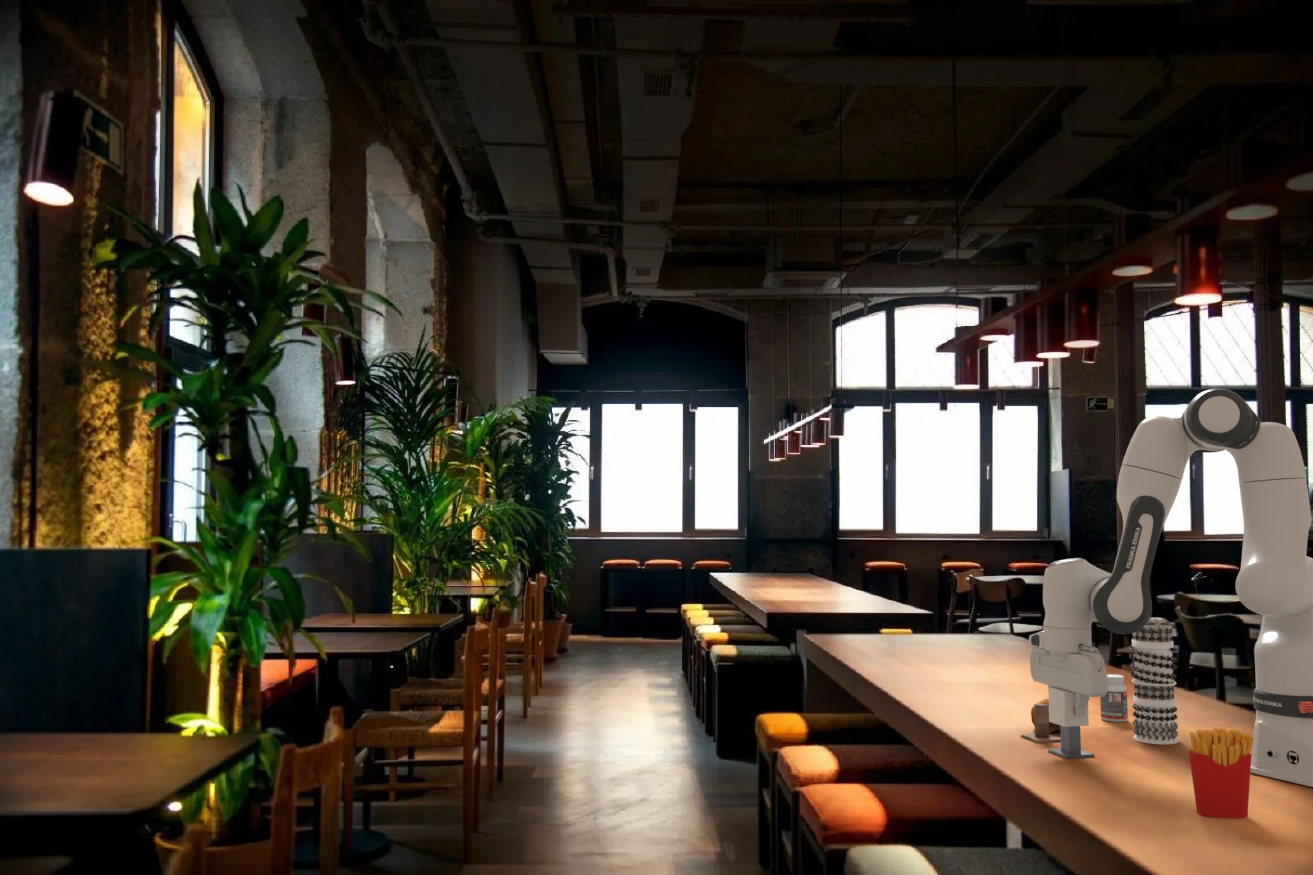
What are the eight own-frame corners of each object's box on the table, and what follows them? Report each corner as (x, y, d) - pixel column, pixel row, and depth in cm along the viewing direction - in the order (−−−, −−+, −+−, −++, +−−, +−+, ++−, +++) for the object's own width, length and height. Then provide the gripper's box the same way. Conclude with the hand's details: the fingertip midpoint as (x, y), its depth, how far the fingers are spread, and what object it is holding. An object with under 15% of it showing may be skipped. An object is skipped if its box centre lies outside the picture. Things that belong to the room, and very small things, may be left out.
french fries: (1198, 817, 170) (1195, 732, 171) (1187, 810, 174) (1185, 727, 175) (1260, 819, 169) (1257, 733, 170) (1248, 811, 173) (1244, 727, 174)
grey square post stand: (1094, 756, 212) (1093, 720, 212) (1066, 758, 210) (1065, 721, 211) (1074, 750, 218) (1073, 714, 218) (1048, 752, 216) (1047, 715, 217)
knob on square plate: (1063, 741, 226) (1062, 706, 227) (1037, 742, 225) (1037, 708, 225) (1046, 735, 232) (1045, 701, 232) (1021, 737, 230) (1020, 703, 231)
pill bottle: (1130, 723, 245) (1129, 678, 246) (1103, 722, 247) (1102, 677, 247) (1124, 718, 251) (1123, 674, 252) (1098, 717, 252) (1097, 673, 253)
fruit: (1051, 730, 230) (1039, 694, 235) (1033, 743, 236) (1020, 708, 241) (1084, 728, 232) (1071, 692, 237) (1065, 741, 238) (1052, 706, 243)
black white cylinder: (1155, 734, 233) (1151, 615, 235) (1190, 742, 224) (1186, 619, 226) (1121, 737, 230) (1117, 617, 231) (1156, 746, 221) (1152, 621, 223)
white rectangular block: (1088, 725, 213) (1087, 691, 213) (1065, 726, 211) (1064, 692, 212) (1072, 720, 218) (1071, 686, 218) (1049, 721, 216) (1048, 687, 217)
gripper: (1115, 647, 206) (1117, 722, 205) (1051, 634, 226) (1052, 702, 225) (1086, 648, 205) (1087, 723, 204) (1023, 635, 224) (1025, 704, 224)
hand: (1068, 712), depth 215 cm, fingers closed on white rectangular block, 5 cm apart
